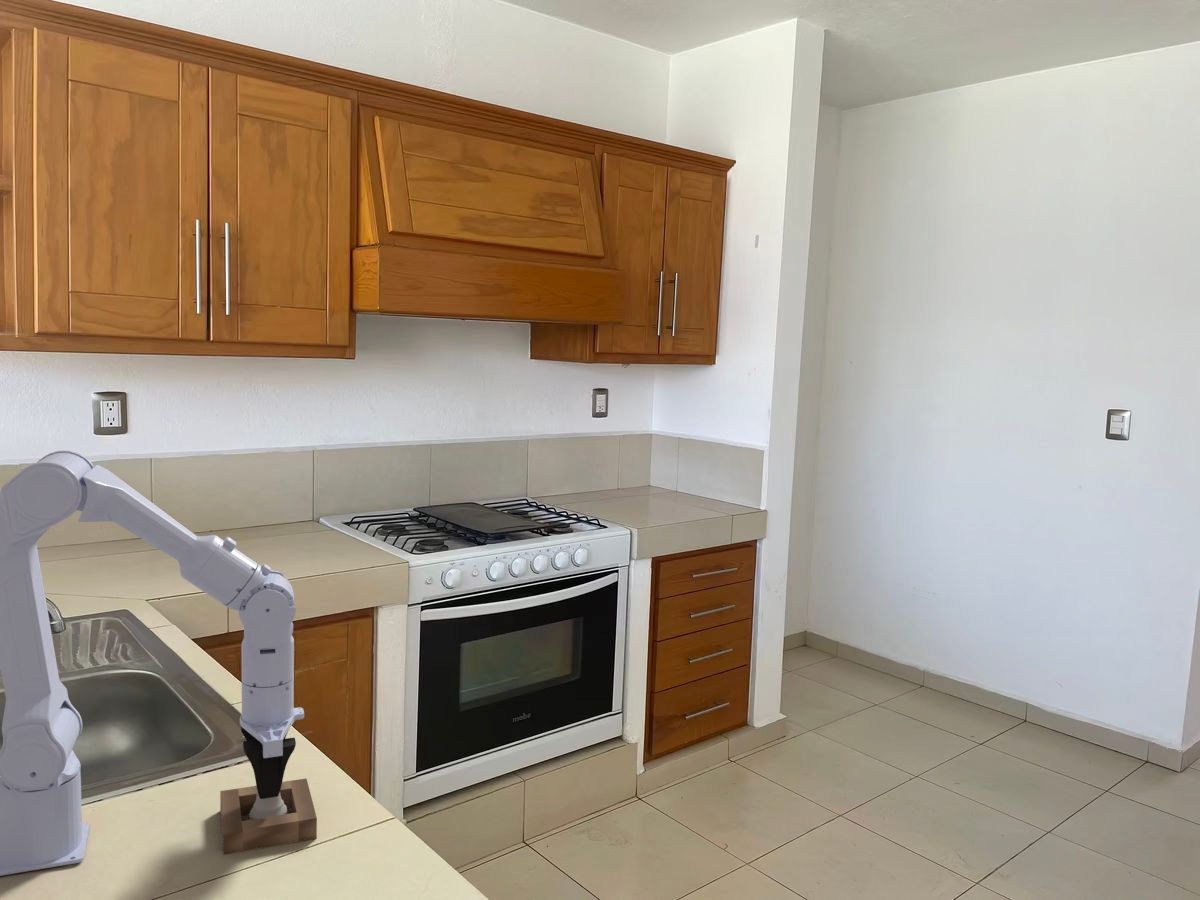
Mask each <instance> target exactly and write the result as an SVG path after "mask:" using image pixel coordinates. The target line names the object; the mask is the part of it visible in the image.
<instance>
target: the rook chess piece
mask: <svg viewBox="0 0 1200 900" xmlns="http://www.w3.org/2000/svg"><path fill="white" fill-rule="evenodd" d="M284 814H288V808H287V807H286V805H285V804H284V802H283V800H282V799H281V796H280V793H279V796H278V797H271V798H265V799H260V797H259V795H258V791H257V797H256V801H255V803H254V805H253V808H252V809H251V811H250V813H249V814H248V816H249V820H253V819H259V818H265V817H272V816H278V815H284Z"/></svg>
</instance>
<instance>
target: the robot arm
mask: <svg viewBox="0 0 1200 900" xmlns="http://www.w3.org/2000/svg"><path fill="white" fill-rule="evenodd" d="M76 511H80V512H81V513H80V515H79V518H78V522H79V523H98V522H101V523H102V522H112V523H115V524H116V525H118V526H120V527H121V528H123V529H125V530H126V531H128V532H130V533H131V534H133V535H134V536H136V537H138V538H140V539H141V540H143V541H145V542H146V543H148V544H150V545H151V546H153V547H155V548H156V549H158V550H160V551H161V552H162V553H165V554H166V555H168V556H170V557H171V558H173V559H175V560H177V562H178V565H179V569H180V570H179V571H180V576H181V578H182V579H184V581H187V582H189V583H190V584H191V585H193V586H194V587H196V588H198V589H199V590H200V591H202V592H203V593H204V594H207V595H208V596H210V597H211V598H213V599H214V600H216V601H217V602H219V603H220V604H222V605H223V606H224V607H226V608H228V609H230V610H236V611H238V614H239V615H238V616H239V619H240V622H241V624H242V625H243V639H242V641H241V714H240V716H239V725H240V731H241V733H242V735H243V737H244V739H245V740H244V741H242V747H243V748H242V749H243V752H244V754H245V756H246V757H247V760H249V763H250V765H251V767H252V771H253V773H254V778H255V786H257V791H258V795H259V797H260V799H265V798H271V797H278V796H279V793H280V789H281V785H282V782H283V779H284V776H285V770H286V767H287V764H288V761H289V760H290V757H291V755H292V754H293V753H294V751H295V748H296V745H297V742H296V738H295V737H288V738H287V736H288V735H287V734H288V733H289V731H290V729H291V727H292V725H293V724H294V722H295V721H297V720H298V721H299V720H303V719H304V718H305V711H304V708H303V707H294V706H295V704H294V703H295V702H294V698H295V697H294V694H295V693H294V690H295V689H294V684H295V682H294V681H295V671H294V670H295V639H294V636H293V632H294V623H293V621H294V619H295V617H296V614H297V613H296V612H297V608H296V607H295V594H294V589H293V586H292V584H291V582H290V581H289V579H287V577H285V576H284V575H283V573H282V572H281V571H279V570H278V571H277V570H273V569H272V567H270V566H269V565H267V563H263V564H262V565H261V564H258V563H257V562H256V561H254V560H253V559H252V558H250V557H248V556H247V555H246V554H244V553H243V552H242V551H240V550H238V549H237V548H236V547H237V541H235V540H234V539H233V538H231V537H230V536H226V537H225V539H222V538H221V537H219V536H218V535H216V534H211V535H202V536H199V535H197V534H195V533H193V532H192V531H191V530H189V529H188V528H186V527H185V526H184V525H183V524H181V523H180V522H178V521H177V520H176V519H174V518H173V517H172V516H170V515H169V514H168V513H166V511H164V510H162V509H161V508H160V507H159V506H157V505H156V504H155V503H153V502H152V501H150V499H148V498H147V497H145V496H144V495H143V494H141V493H140V492H139V491H137V490H136V489H134V488H133V487H132V486H130V485H129V483H128V484H127V483H126V482H125V481H124V480H122V479H121V478H119V477H118V476H117V475H116V474H115V473H113V472H112V471H110V470H109V469H107V468H106V467H103V466H101V465H99V464H96V465H94V464H93V463H92V462H91V460H90V459H88V458H87V456H85V455H83V454H81V453H79V452H75V451H72V450H57V451H53V452H50V453H48V454H47V455H45V456H43V457H42V458H40V459H39V460H38V461H37V462H36V463H33V464H32V463H31V464H30V465H28V466H26V467H25V468H23V469H22V470H20V471H19V472H18V473H17V474H16V475H14V477H12V478H11V479H10V480H9V481H8V482H6V483H5V484H4V485H3V486H2V487H1V488H0V673H1V678H2V679H1V680H2V685H3V689H4V690H3V691H4V695H5V705H4V710H3V711H4V712H3V717H2V723H1V733H2V747H1V749H0V877H1V876H7V875H12V874H19V873H26V872H30V871H37V870H43V869H48V868H49V869H50V868H55V867H61V866H68V865H72V864H74V865H75V864H79V863H81V862H83V861H84V858H85V852H86V847H87V846H86V845H87V843H88V842H87V840H88V836H89V831H90V823H89V822H83V816H82V815H83V814H82V812H83V810H82V777H81V775H82V773H81V769H82V768H81V767H82V766H81V761H80V760H79V758H78V757H77V755H76V754H75V751H74V750H73V747H74V746H75V744H76V743H77V742H78V740H79V739H80V736H81V734H82V730H83V720H82V716H81V715H80V713H79V711H78V710H77V709H76V708H75V706H74V705H73V704H72V703H71V701H70V699H69V693H68V688H67V687H66V686H65V685H64V684H63V682H61V680H60V676H59V670H58V664H57V658H56V651H55V647H54V646H55V645H54V639H53V632H52V629H51V622H50V616H49V610H48V604H47V599H46V593H45V586H44V581H43V574H42V569H41V564H40V557H39V550H38V542H39V541H40V540H41V539H42V538H43V537H44V536H45V534H46V533H47V532H48V531H50V529H52V527H54V526H55V525H58V524H59V523H61V522H63V521H64V520H66V519H68V518H69V517H71V516H72V515H73V514H74V513H75V512H76Z"/></svg>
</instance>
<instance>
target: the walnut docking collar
mask: <svg viewBox="0 0 1200 900" xmlns="http://www.w3.org/2000/svg"><path fill="white" fill-rule="evenodd" d="M308 783H309V781H308V778H299V779H294V780H287V781H282V785H281V789H280V796H281V799H282V800H283V802H284V804H285V805H286V807H287V809H290V808H291V812H292V813H287V814H284V815H278V816H272V817H265V818H259V819H253V820H250V819H247V820H242V816H247V815H249V813H250V811H251V809H252V808H253V805H254V803H255V801H256V797H257V786H256V785H252V786H246V787H239V788H238V787H237V788H233V789H225V790H220V791H219V792H220V795H219V797H220V805H219V806H220V810H219V811H220V820H221V821H220V823H221V826H220V827H221V838H222V839H221V840H222V851H223V852H222V853H223V855H227V854H235V853H240V852H245V851H251V850H257V849H263V848H269V847H274V846H279V845H280V846H281V845H286V844H291V843H297V842H303V841H309V840H314V839H317V836H318V835H317V832H318V828H317V827H318V822H317V821H318V819H317V818H318V817H317V813H316V809H315V806H314V802H313V797H312V795H311V790H310V787H309V784H308Z"/></svg>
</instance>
